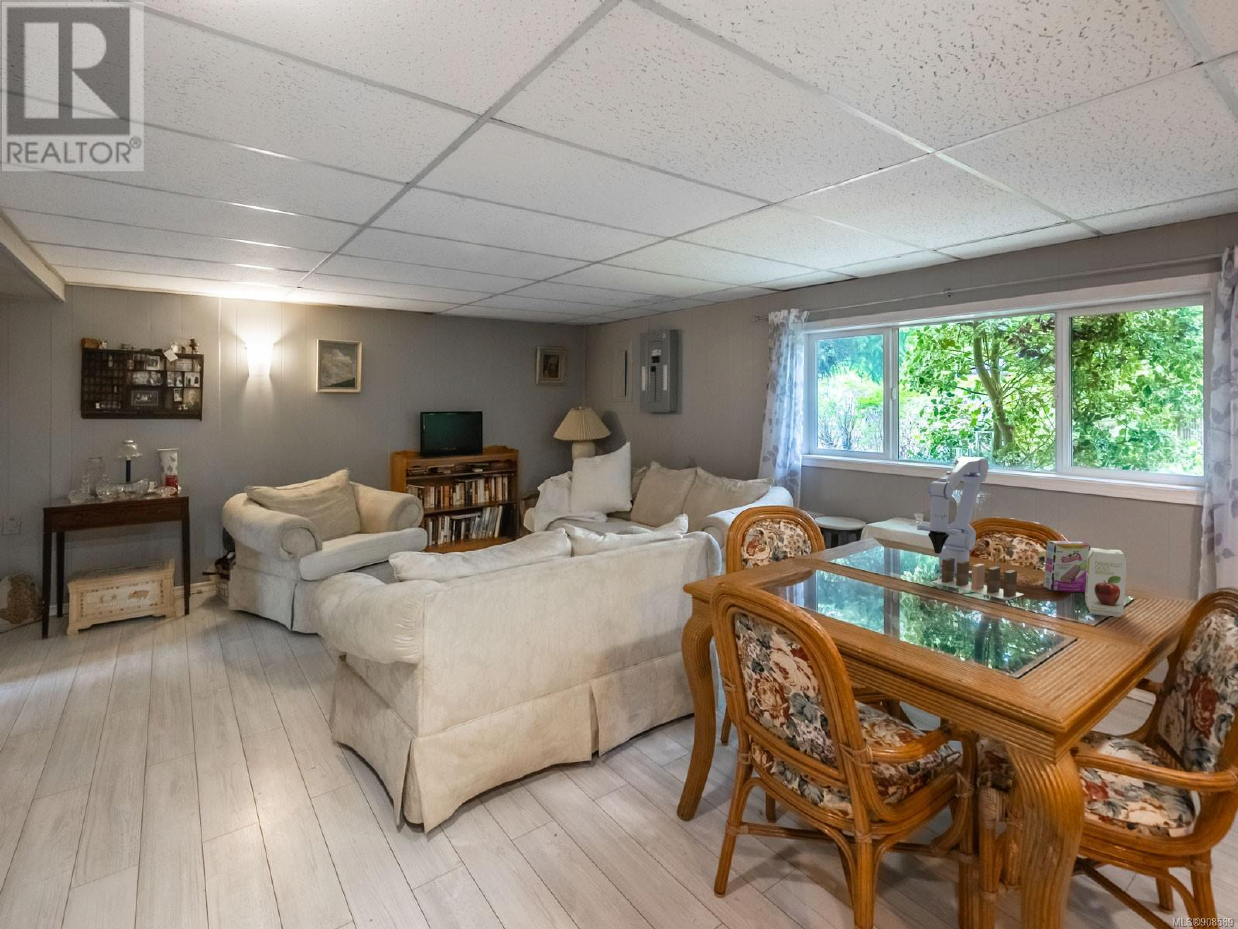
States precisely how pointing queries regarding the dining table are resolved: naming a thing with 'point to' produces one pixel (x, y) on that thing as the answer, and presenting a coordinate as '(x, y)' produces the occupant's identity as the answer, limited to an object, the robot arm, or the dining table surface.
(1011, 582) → the domino
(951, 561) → the domino
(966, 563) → the domino
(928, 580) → the dining table surface
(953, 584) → the board
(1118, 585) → the juice carton
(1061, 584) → the candy bar box
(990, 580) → the domino
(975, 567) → the domino
